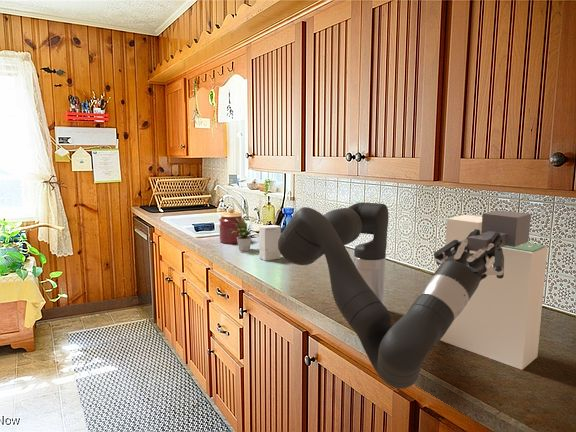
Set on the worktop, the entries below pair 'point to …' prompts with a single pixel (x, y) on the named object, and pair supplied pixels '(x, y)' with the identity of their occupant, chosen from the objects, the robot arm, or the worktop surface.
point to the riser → (501, 302)
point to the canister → (229, 227)
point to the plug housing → (502, 229)
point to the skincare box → (269, 242)
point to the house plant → (243, 236)
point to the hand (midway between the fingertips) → (488, 234)
